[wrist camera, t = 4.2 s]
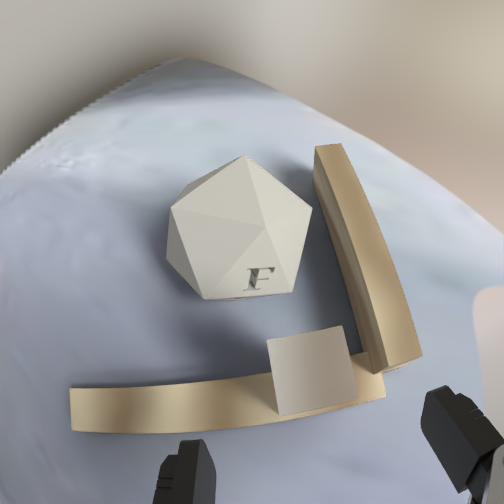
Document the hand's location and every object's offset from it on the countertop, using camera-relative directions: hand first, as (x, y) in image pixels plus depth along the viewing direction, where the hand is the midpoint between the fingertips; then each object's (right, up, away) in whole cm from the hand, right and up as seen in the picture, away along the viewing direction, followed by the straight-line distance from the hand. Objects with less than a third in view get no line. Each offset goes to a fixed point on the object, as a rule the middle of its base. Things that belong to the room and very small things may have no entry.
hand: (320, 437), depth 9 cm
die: (-3, +5, +13) cm, 15 cm away
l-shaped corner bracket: (-5, +3, +12) cm, 13 cm away
